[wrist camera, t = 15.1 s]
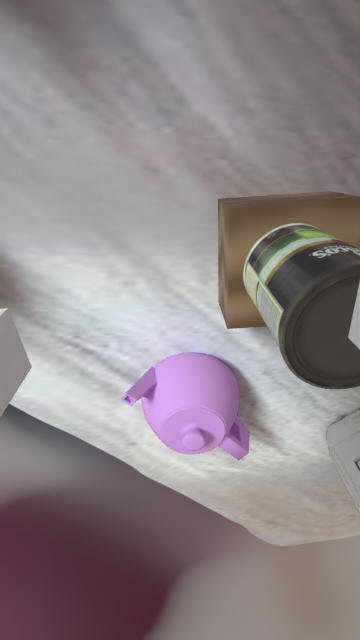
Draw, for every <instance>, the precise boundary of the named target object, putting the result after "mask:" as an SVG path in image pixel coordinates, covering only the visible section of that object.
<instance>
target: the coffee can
mask: <svg viewBox="0 0 360 640" xmlns="http://www.w3.org/2000/svg"><path fill="white" fill-rule="evenodd" d="M243 280H244V285H245V288H246V291H247V293H248V295H249V296H250V297H251V299H252V300H253V302H254V304H255V305H256V307H257V309H258V311H259V312H260V314H261V316H262V318H263V320H264V321H265V323H266V325H267V327H268V329H269V330H270V332H271V334H272V336H273V338H274V339H275V341H276V343H277V345H278V346H279V348H280V351H281V353H282V356H283V359H284V361H285V363H286V364H287V366H288V368H289V369H290V370H291V371H292V372H293V373H294V374H295V375H296V376H297V377H298V378H299V379H301V380H303V381H304V382H306V383H308V384H310V385H313V386H316V387H320V388H325V389H346V388H353V387H358V386H360V349H359V348H358V347H357V346H356V345H355V344H354V343H353V342H352V341H351V340H350V339H349V338H348V336H349V331H350V326H351V321H352V316H353V312H354V307H355V302H356V297H357V292H358V288H359V283H360V249H358V248H357V247H354V246H352V245H350V244H348V243H346V242H344V241H341V240H339V239H337V238H335V237H333V236H331V235H329V234H327V233H325V232H323V231H321V230H320V229H318V228H316V227H314V226H312V225H309V224H304V223H291V224H286V225H282V226H279V227H276V228H274V229H272V230H270V231H269V232H267V233H266V234H265V235H263V236H262V237H261V238H260V239H259V240H258V241H257V242H256V243H255V244H254V245H253V247H252V248H251V250H250V252H249V254H248V255H247V258H246V260H245V264H244V269H243Z"/></svg>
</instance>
